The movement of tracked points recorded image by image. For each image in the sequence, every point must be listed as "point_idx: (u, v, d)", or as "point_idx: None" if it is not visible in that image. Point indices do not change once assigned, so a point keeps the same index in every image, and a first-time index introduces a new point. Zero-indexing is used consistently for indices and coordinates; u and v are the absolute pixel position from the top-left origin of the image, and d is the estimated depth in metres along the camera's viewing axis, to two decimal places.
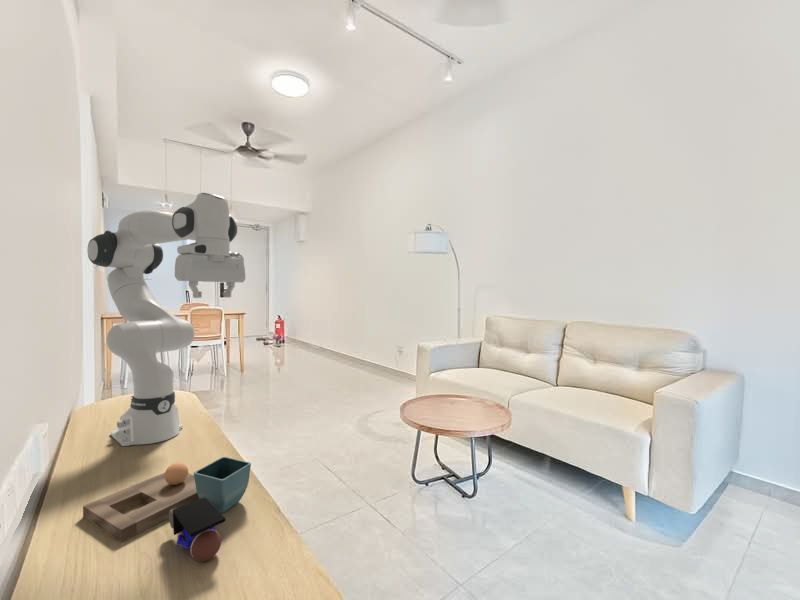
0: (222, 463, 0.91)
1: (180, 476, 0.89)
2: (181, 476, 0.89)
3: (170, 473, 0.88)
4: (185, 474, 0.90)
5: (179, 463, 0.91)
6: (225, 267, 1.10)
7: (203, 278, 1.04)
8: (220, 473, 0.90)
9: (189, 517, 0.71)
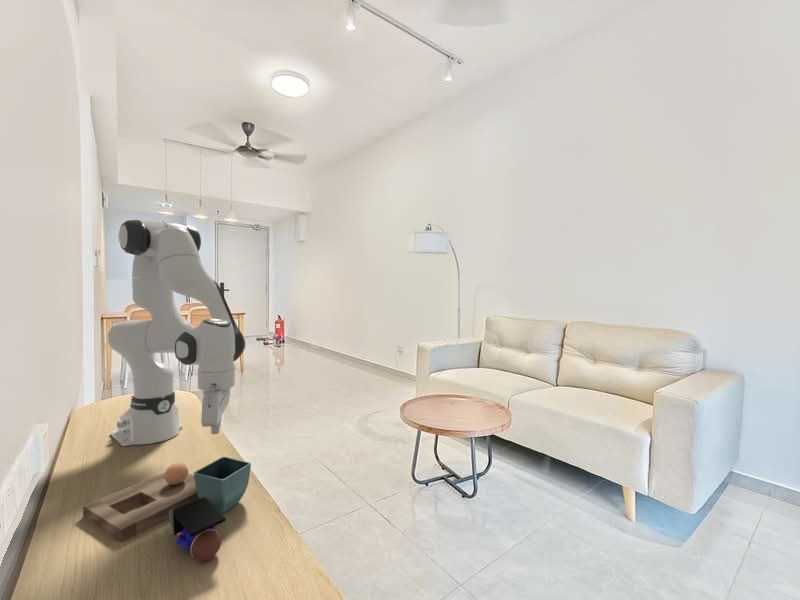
0: (222, 463, 0.91)
1: (180, 476, 0.89)
2: (181, 476, 0.89)
3: (170, 473, 0.88)
4: (185, 474, 0.90)
5: (179, 463, 0.91)
6: None
7: None
8: (220, 473, 0.90)
9: (189, 517, 0.71)
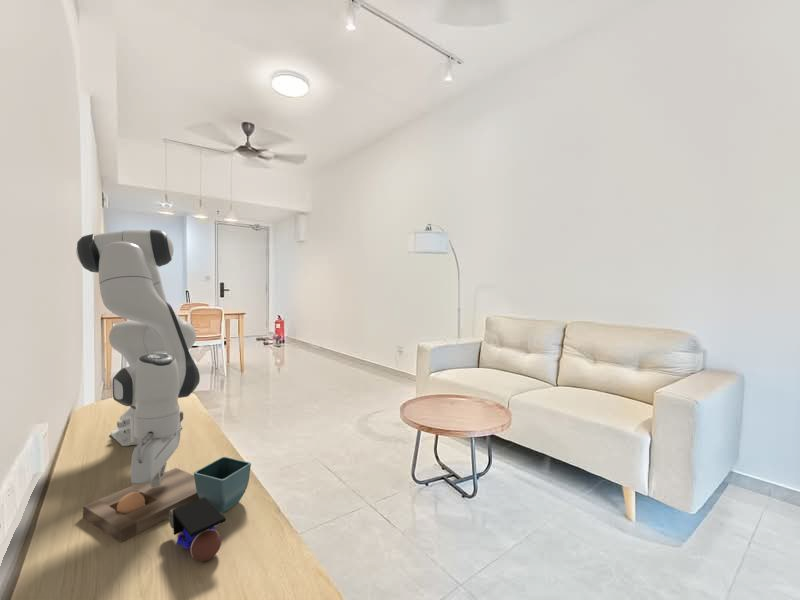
0: (222, 463, 0.91)
1: None
2: None
3: None
4: None
5: None
6: None
7: None
8: (220, 473, 0.90)
9: (189, 517, 0.71)
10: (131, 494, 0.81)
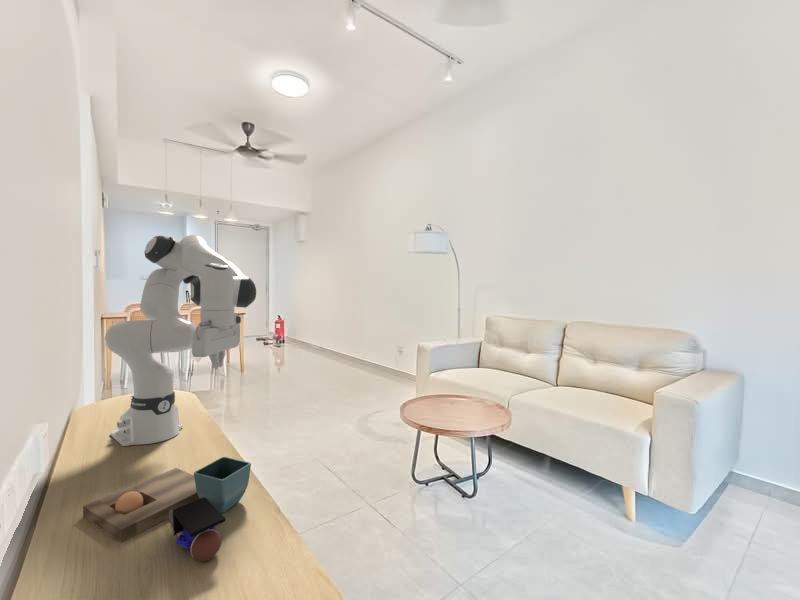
0: (222, 463, 0.91)
1: None
2: None
3: (142, 501, 0.83)
4: None
5: None
6: None
7: None
8: (220, 473, 0.90)
9: (189, 517, 0.71)
10: (128, 492, 0.82)
